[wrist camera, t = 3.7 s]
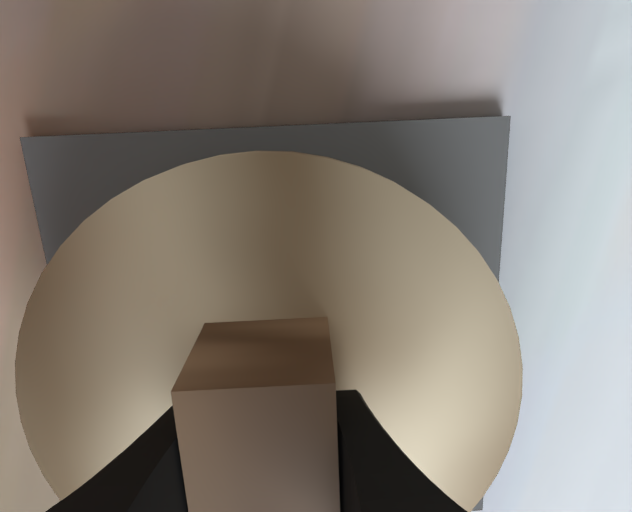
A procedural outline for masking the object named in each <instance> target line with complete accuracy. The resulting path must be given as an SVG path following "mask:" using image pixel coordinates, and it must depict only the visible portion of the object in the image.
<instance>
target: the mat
mask: <svg viewBox="0 0 632 512" xmlns="http://www.w3.org/2000/svg"><path fill="white" fill-rule="evenodd" d="M510 117H511V116H494V117H472V118H449V119H426V120H404V121H381V122H358V123H335V124H313V125H290V126H267V127H244V128H222V129H199V130H176V131H154V132H131V133H108V134H85V135H63V136H40V137H20V141H21V146H22V150H23V155H24V160H25V164H26V169H27V174H28V178H29V183H30V188H31V193H32V197H33V202H34V207H35V211H36V216H37V221H38V225H39V230H40V235H41V239H42V244H43V249H44V253H45V258H46V263H47V265H48V263H49V262H50V260H51V259H52V257H53V256H54V255H55V253H56V252H57V250H58V249H59V247H60V246H61V245H62V244H63V243H64V242H65V240H66V239H67V238H68V237H69V236H70V235H71V234H72V233H73V232H74V231H75V230H76V229H77V228H78V226H79V225H80V224H81V223H82V222H83V221H84V220H85V219H87V218H88V217H89V216H90V215H92V214H93V213H94V212H96V211H97V210H98V209H99V208H101V207H102V206H103V205H104V204H106V203H107V202H108V201H109V200H111V199H112V198H114V197H115V196H117V195H119V194H121V193H122V192H124V191H126V190H127V189H129V188H131V187H133V186H134V185H136V184H138V183H140V182H141V181H143V180H145V179H148V178H150V177H153V176H155V175H158V174H160V173H163V172H165V171H168V170H170V169H172V168H175V167H177V166H180V165H183V164H186V163H190V162H194V161H198V160H202V159H206V158H210V157H213V156H217V155H222V154H231V153H240V152H248V151H293V152H300V153H306V154H313V155H319V156H325V157H330V158H333V159H337V160H340V161H343V162H347V163H350V164H353V165H357V166H360V167H363V168H365V169H367V170H369V171H372V172H374V173H376V174H378V175H381V176H383V177H385V178H387V179H389V180H392V181H394V182H395V183H397V184H398V185H400V186H402V187H403V188H405V189H406V190H408V191H410V192H411V193H413V194H414V195H416V196H417V197H419V198H421V199H422V200H424V201H425V202H427V203H428V204H430V205H431V206H432V207H434V208H435V209H436V210H437V211H438V212H439V213H441V214H442V215H443V216H444V217H445V218H447V219H448V220H449V221H450V222H451V223H453V224H454V225H455V226H456V227H457V228H458V229H459V230H460V231H461V232H462V234H463V235H464V236H465V237H466V238H467V239H468V240H469V241H470V243H471V244H472V245H473V246H474V247H475V248H476V249H477V250H478V252H479V253H480V254H481V256H482V257H483V259H484V260H485V262H486V263H487V265H488V266H489V268H490V270H491V271H492V273H493V274H494V276H495V277H496V279H497V281H498V283H499V271H500V257H501V243H502V229H503V215H504V201H505V187H506V173H507V159H508V145H509V131H510ZM482 508H483V497H482V499H481V500H480V501H479V502H478V504H477V505H476V506H475V507H474V508H473V509H472V511H475V510H482Z"/></svg>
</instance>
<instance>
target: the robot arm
mask: <svg viewBox="0 0 632 512" xmlns="http://www.w3.org/2000/svg"><path fill="white" fill-rule="evenodd" d="M336 408H337V436H338V465H339V493H340V512H467V511H466V510H465V509H463V508H462V507H461V506H459V505H458V504H457V503H456V502H455V501H453V500H452V499H451V498H450V497H449V496H447V495H446V494H445V493H444V492H443V491H442V490H441V489H440V488H439V487H437V486H436V485H435V484H434V483H433V482H432V481H431V480H430V479H429V478H428V477H427V476H426V475H425V474H424V473H423V472H422V471H421V470H420V469H419V468H418V467H417V466H416V465H415V464H414V463H413V462H412V461H411V460H410V459H409V458H408V457H407V455H406V454H405V453H404V452H403V451H402V450H401V449H400V448H399V446H398V445H397V444H396V443H395V442H394V440H393V439H392V438H391V437H390V435H389V434H388V433H387V432H386V430H385V429H384V428H383V427H382V425H381V424H380V423H379V421H378V420H377V419H376V417H375V416H374V414H373V413H372V411H371V410H370V408H369V407H368V405H367V404H366V402H365V401H364V399H363V397H362V395H361V394H360V393H359V392H358V391H357V390H356V389H355V390H336ZM46 512H188V505H187V498H186V492H185V485H184V478H183V471H182V465H181V458H180V451H179V445H178V438H177V431H176V424H175V418H174V411H173V405H172V406H171V407H170V408H169V409H168V410H167V411H166V412H165V413H164V414H163V415H162V416H161V417H160V418H159V419H158V420H157V421H156V422H154V423H153V424H152V425H151V426H150V427H149V428H148V429H147V430H146V431H145V432H144V433H143V434H142V435H140V436H139V437H138V438H137V439H136V440H135V441H134V442H133V443H132V444H131V445H130V446H129V447H127V448H126V449H125V450H124V451H123V452H122V453H120V454H119V455H118V456H117V457H116V458H115V459H113V460H112V461H111V462H110V463H109V464H107V465H106V466H105V467H104V468H103V469H101V470H100V471H99V472H98V473H97V474H95V475H94V476H93V477H92V478H91V479H89V480H88V481H87V482H86V483H84V484H83V485H82V486H80V487H79V488H78V489H76V490H75V491H74V492H72V493H71V494H70V495H68V496H67V497H66V498H64V499H63V500H61V501H60V502H59V503H57V504H56V505H54V506H53V507H52V508H50V509H49V510H47V511H46Z"/></svg>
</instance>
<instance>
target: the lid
mask: <svg viewBox="0 0 632 512" xmlns="http://www.w3.org/2000/svg"><path fill="white" fill-rule="evenodd" d="M15 379H16V396H17V402H18V408H19V413H20V419H21V423H22V426H23V429H24V432H25V435H26V438H27V441H28V444H29V447H30V450H31V452H32V454H33V456H34V458H35V460H36V462H37V464H38V466H39V468H40V470H41V472H42V474H43V476H44V477H45V479H46V480H47V482H48V483H49V485H50V486H51V488H52V489H53V491H54V492H55V493H56V495H57V496H58V498H59V499H60V500H63V499H64V498H66V497H67V496H68V495H70V494H71V493H72V492H74V491H75V490H76V489H78V488H79V487H80V486H82V485H83V484H84V483H86V482H87V481H88V480H89V479H91V478H92V477H93V476H94V475H95V474H97V473H98V472H99V471H100V470H101V469H103V468H104V467H105V466H106V465H107V464H109V463H110V462H111V461H112V460H113V459H115V458H116V457H117V456H118V455H119V454H120V453H122V452H123V451H124V450H125V449H126V448H127V447H129V446H130V445H131V444H132V443H133V442H134V441H135V440H136V439H137V438H138V437H139V436H140V435H142V434H143V433H144V432H145V431H146V430H147V429H148V428H149V427H150V426H151V425H152V424H153V423H154V422H156V421H157V420H158V419H159V418H160V417H161V416H162V415H163V414H164V413H165V412H166V411H167V410H168V409H169V408H170V407H171V406H172V405H173V411H174V418H175V424H176V431H177V438H178V445H179V451H180V458H181V465H182V471H183V478H184V485H185V492H186V498H187V505H188V512H340V493H339V465H338V436H337V408H336V390H355V389H356V390H357V391H358V392H359V393H360V394H361V395H362V397H363V399H364V401H365V402H366V404H367V405H368V407H369V408H370V410H371V411H372V413H373V414H374V416H375V417H376V419H377V420H378V421H379V423H380V424H381V425H382V427H383V428H384V429H385V430H386V432H387V433H388V434H389V435H390V437H391V438H392V439H393V440H394V442H395V443H396V444H397V445H398V446H399V448H400V449H401V450H402V451H403V452H404V453H405V454H406V455H407V457H408V458H409V459H410V460H411V461H412V462H413V463H414V464H415V465H416V466H417V467H418V468H419V469H420V470H421V471H422V472H423V473H424V474H425V475H426V476H427V477H428V478H429V479H430V480H431V481H432V482H433V483H434V484H435V485H436V486H437V487H439V488H440V489H441V490H442V491H443V492H444V493H445V494H446V495H447V496H449V497H450V498H451V499H452V500H453V501H455V502H456V503H457V504H458V505H459V506H461V507H462V508H463V509H465V510H466V511H467V512H471V511H472V509H473V508H474V507H475V506H476V505H477V504H478V502H479V501H480V500H481V499H482V497H483V496H484V494H485V493H486V491H487V490H488V488H489V487H490V485H491V484H492V482H493V480H494V479H495V477H496V476H497V474H498V472H499V470H500V468H501V466H502V463H503V461H504V459H505V457H506V455H507V453H508V451H509V448H510V445H511V442H512V439H513V435H514V432H515V429H516V426H517V422H518V416H519V410H520V404H521V398H522V359H521V351H520V344H519V337H518V333H517V330H516V326H515V323H514V320H513V316H512V313H511V309H510V307H509V304H508V302H507V300H506V298H505V296H504V294H503V291H502V289H501V287H500V285H499V283H498V281H497V279H496V277H495V276H494V274H493V273H492V271H491V270H490V268H489V266H488V265H487V263H486V262H485V260H484V259H483V257H482V256H481V254H480V253H479V252H478V250H477V249H476V248H475V247H474V246H473V245H472V244H471V243H470V241H469V240H468V239H467V238H466V237H465V236H464V235H463V234H462V232H461V231H460V230H459V229H458V228H457V227H456V226H455V225H454V224H453V223H451V222H450V221H449V220H448V219H447V218H445V217H444V216H443V215H442V214H441V213H439V212H438V211H437V210H436V209H435V208H434V207H432V206H431V205H430V204H428V203H427V202H425V201H424V200H422V199H421V198H419V197H417V196H416V195H414V194H413V193H411V192H410V191H408V190H406V189H405V188H403V187H402V186H400V185H398V184H397V183H395V182H394V181H392V180H389V179H387V178H385V177H383V176H381V175H378V174H376V173H374V172H372V171H369V170H367V169H365V168H363V167H360V166H357V165H353V164H350V163H347V162H343V161H340V160H337V159H333V158H330V157H325V156H319V155H313V154H306V153H300V152H293V151H248V152H240V153H231V154H222V155H217V156H213V157H210V158H206V159H202V160H198V161H194V162H190V163H186V164H183V165H180V166H177V167H175V168H172V169H170V170H168V171H165V172H163V173H160V174H158V175H155V176H153V177H150V178H148V179H145V180H143V181H141V182H140V183H138V184H136V185H134V186H133V187H131V188H129V189H127V190H126V191H124V192H122V193H121V194H119V195H117V196H115V197H114V198H112V199H111V200H109V201H108V202H107V203H106V204H104V205H103V206H102V207H101V208H99V209H98V210H97V211H96V212H94V213H93V214H92V215H90V216H89V217H88V218H87V219H85V220H84V221H83V222H82V223H81V224H80V225H79V226H78V228H77V229H76V230H75V231H74V232H73V233H72V234H71V235H70V236H69V237H68V238H67V239H66V240H65V242H64V243H63V244H62V245H61V246H60V247H59V249H58V250H57V252H56V253H55V255H54V256H53V257H52V259H51V260H50V262H49V263H48V265H47V266H46V268H45V269H44V271H43V272H42V274H41V276H40V278H39V280H38V282H37V284H36V286H35V288H34V291H33V293H32V295H31V297H30V299H29V301H28V304H27V307H26V310H25V314H24V317H23V321H22V324H21V328H20V331H19V336H18V344H17V352H16V360H15Z"/></svg>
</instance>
